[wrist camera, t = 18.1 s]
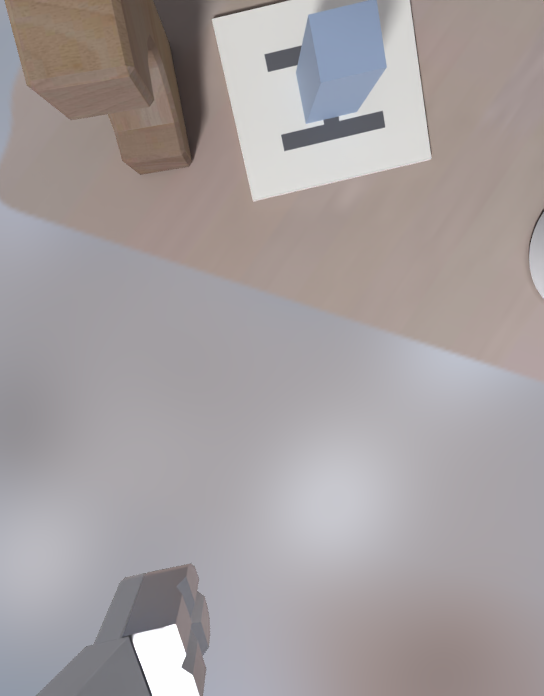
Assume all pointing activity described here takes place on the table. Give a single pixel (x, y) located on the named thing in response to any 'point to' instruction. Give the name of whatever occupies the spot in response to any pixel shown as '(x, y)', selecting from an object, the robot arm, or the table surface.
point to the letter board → (286, 107)
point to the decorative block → (106, 72)
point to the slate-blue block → (340, 60)
